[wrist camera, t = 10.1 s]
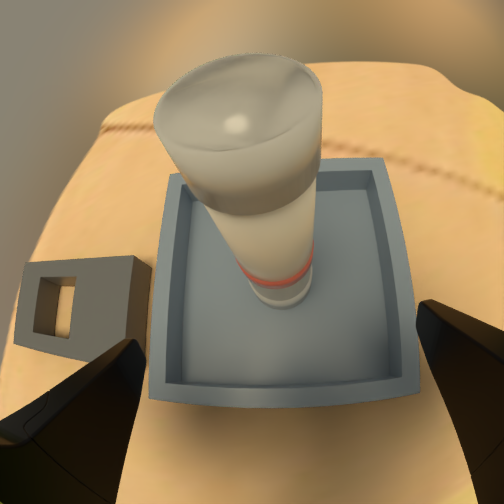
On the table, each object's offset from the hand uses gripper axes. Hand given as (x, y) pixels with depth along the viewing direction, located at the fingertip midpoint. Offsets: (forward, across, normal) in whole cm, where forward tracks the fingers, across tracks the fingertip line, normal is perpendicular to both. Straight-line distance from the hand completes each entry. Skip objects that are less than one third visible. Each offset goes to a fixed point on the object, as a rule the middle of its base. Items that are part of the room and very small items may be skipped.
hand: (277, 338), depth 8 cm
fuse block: (+9, +15, +4) cm, 18 cm away
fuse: (+8, 0, +3) cm, 9 cm away
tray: (+9, 0, +3) cm, 10 cm away
